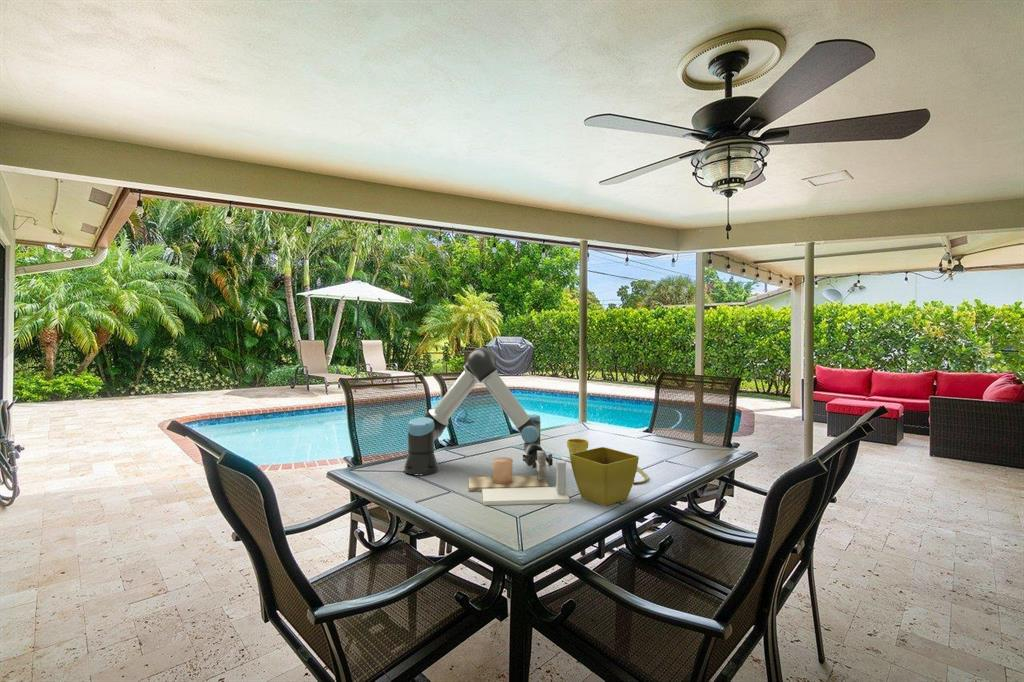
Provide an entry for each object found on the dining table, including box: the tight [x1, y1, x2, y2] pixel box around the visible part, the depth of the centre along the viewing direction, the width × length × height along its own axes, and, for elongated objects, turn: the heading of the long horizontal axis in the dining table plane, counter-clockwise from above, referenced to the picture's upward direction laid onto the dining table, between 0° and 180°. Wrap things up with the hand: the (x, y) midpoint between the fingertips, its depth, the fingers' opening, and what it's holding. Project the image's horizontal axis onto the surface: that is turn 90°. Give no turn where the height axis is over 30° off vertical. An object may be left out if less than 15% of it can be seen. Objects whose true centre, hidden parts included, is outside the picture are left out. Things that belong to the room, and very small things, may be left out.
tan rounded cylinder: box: [492, 456, 513, 484], centre depth 203 cm, size 8×8×9 cm
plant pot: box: [566, 438, 589, 455], centre depth 242 cm, size 10×10×10 cm
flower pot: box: [569, 446, 640, 507], centre depth 187 cm, size 19×19×17 cm
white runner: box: [481, 459, 571, 506], centre depth 188 cm, size 32×14×14 cm, turn 95°
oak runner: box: [468, 449, 550, 492], centre depth 203 cm, size 32×14×14 cm, turn 95°
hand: (543, 467), depth 199 cm, fingers closed on oak runner, 3 cm apart
